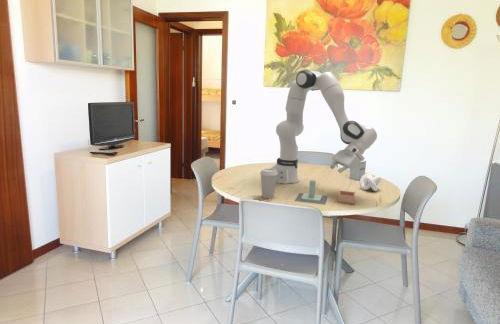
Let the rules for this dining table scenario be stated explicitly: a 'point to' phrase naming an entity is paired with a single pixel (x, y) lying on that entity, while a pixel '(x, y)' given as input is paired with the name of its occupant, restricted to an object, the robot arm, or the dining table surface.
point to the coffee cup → (268, 182)
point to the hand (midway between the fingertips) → (334, 170)
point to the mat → (323, 201)
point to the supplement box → (358, 171)
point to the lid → (311, 193)
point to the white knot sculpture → (369, 182)
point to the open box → (346, 197)
